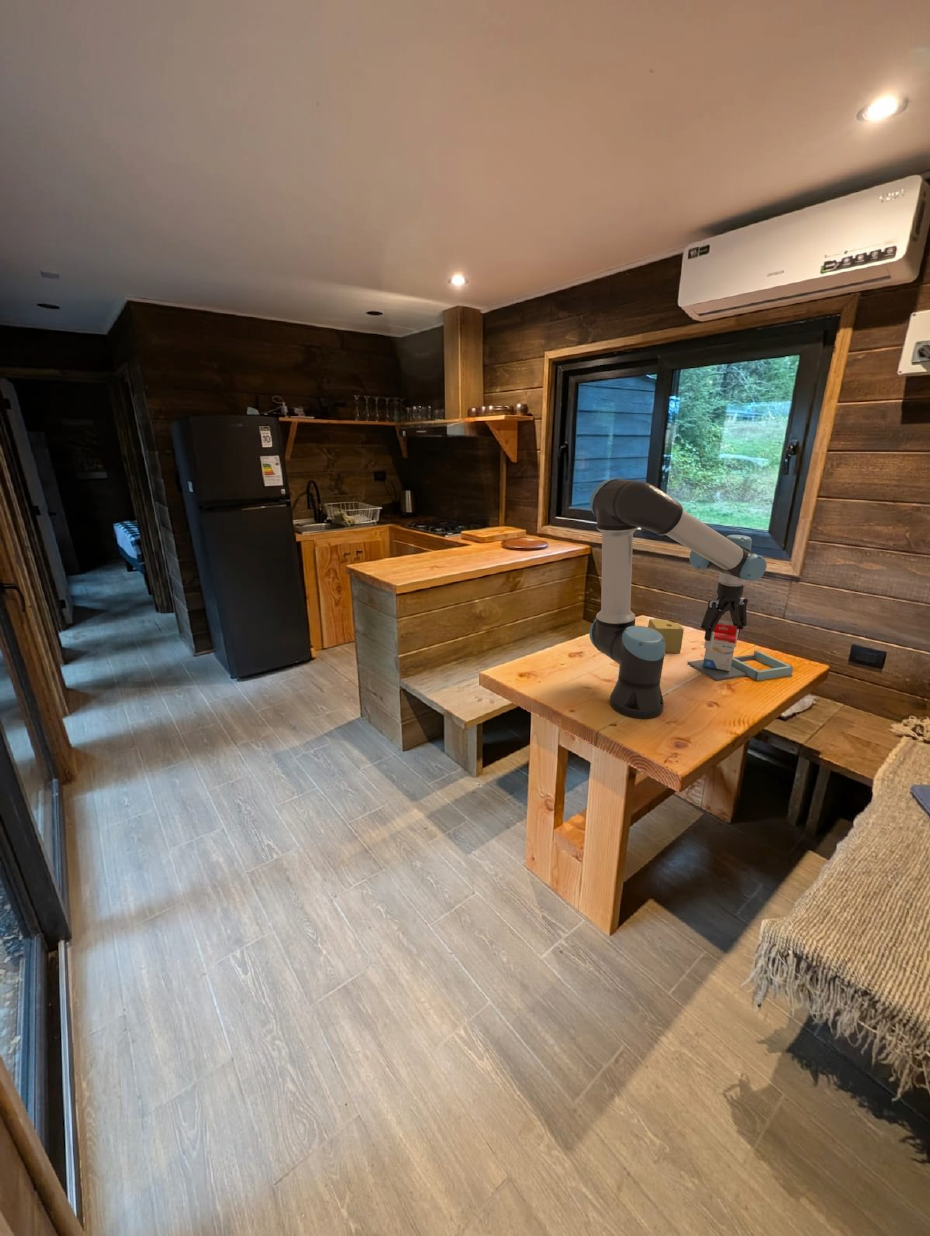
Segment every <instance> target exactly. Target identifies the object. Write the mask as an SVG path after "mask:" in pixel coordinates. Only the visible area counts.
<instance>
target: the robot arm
mask: <svg viewBox="0 0 930 1236" xmlns="http://www.w3.org/2000/svg"><path fill="white" fill-rule="evenodd" d="M589 508H590V511H591V512H592V514H593V515H594V516H595V517H596V529H597V530H598V532H600V533H601V590H600V591H601V593H600V594H601V599H600V601H601V602H600V603H601V604H600V611H598V612H597V613H596V616H595V619H594V620H593V623H591V625H590V627H589V639H590V642H591V644H592V645H593V646H594V647H595V648H596V650H597V651H599V652H600V653H601V654H603V655H605V656H607V657H608V658H610V659H611V660H612V661H613V662H615V663H616V664H618V665H619V667H618V679H617V681H616V683H615V685H614V686H613V690H612V692H611V693H610V695H609V705H610V707H611V708H612V709H613V710H614V711H615V712H617V713H618V714H621V715H623V716H626V717H630V718H633V719H634V718H635V719H652V718H653V719H655V718H657V717H658V716H661V715H662V713H663V711H664V704H665V703H664V699H663V694H662V690H661V679H662V674H663V673H662V672H663V666H664V659H665V655H666V654H665V639H664V637H663V636H662V635H661V634H660V633H659V632H658V631H656V630H654V629H652V628H648V627H647V626H644V625H636V614H635V613H634V612H633V611H632V610H631V605H632V599H631V598H632V578H633V577H632V573H633V547H634V546H633V543H634V541H633V540H634V539H633V538H634V536H633V535H634V533H635V532H636V531H637V530H638V529H639V528H640V529H645V530H647V531H650V532H653V533H654V534H656V535H658V536H667V537H669V538H670V539H672V540H674V541H675V542H677V543H679V544H681V545H682V546H684V547H685V548H687V549H688V550H690V552H689V563H690V565H691V566H692V567H693V568H694V569H697V570H707V569H709V570H712V571H716V572H719V576H718V583H717V587H716V588H717V589H716V594H717V598H716V599H715V600H708V602H707V608H706V611H705V614H704V617H703V619H702V622H701V625H700V629H701V630H704V631H705V632H704V640H705V641H704V647H703V648H704V649H705V650H706V649H707V650H709V651H712V646H713V640H714V634H715V632H713V630H714V628H715V627H716V625H717V624H719V621H720V620H721V619H722V617H723V615H725V614H726V612H729V614H730V617H731V622H732V626H736V627H737V630H736V642H735V647H734V648H737V644H738V643H737V642H738V638H739V637H740V632H741V630H742V631H743V630H744V627H747V625H748V624H747V623H748V621H747V618H748V617H747V605H748V601H749V600H748V598H745V597H742V596H743V594H744V587H745V585H744V584H745V582H746V581H749V582H754V581H758V580H759V579H761V578H762V577H763V576H764V574H765V572H766V570H767V565H768V564H767V560H766V559H765V557H764V556H762V555H758V554H757V553H753V552H752V545H753V544H752V541H753V539H752V538H751V537H750V536H748V535H743V534H729V535H727V536H726V537H725V536H724V535H722V534H721V533H720V532H718V531H716V530H715V529H713V528H711V527H710V526H708V525H707V524H706V523H704V522H703V521H701V520H699V519H698V518H696V517H695V516H693V515H692V514H690V513H688V512H686V511H685V510H684V506H683V504H682V503H680V502H679V501H677V500H676V499H675V498H673V497H672V496H670V495H669V494H667V493H665V492H664V491H663V490H661V489H660V488H658V487H656V486H654V485H653V484H651V483H649V482H645V481H641V480H632V479H624V478H609V479H606V480H603V481H602V482H600V483H599V484H598V485H597V486H596V487H594V489H593V491H592V492H591V495H590V499H589Z"/></svg>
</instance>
